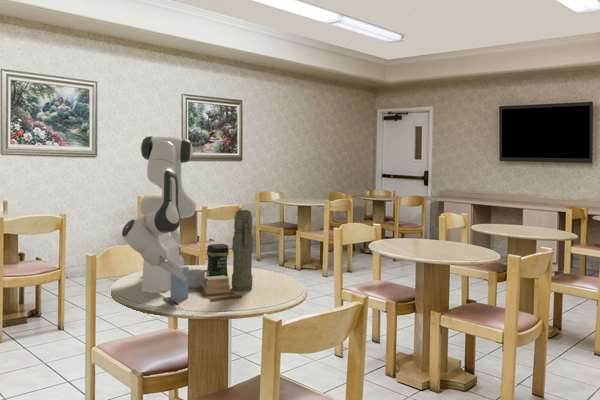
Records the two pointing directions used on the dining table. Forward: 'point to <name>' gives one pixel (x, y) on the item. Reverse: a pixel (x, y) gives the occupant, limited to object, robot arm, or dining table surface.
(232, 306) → the dining table surface
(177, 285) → the tall pale blue box
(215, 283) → the offcut top
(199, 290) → the tray
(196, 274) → the teacup
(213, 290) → the offcut low
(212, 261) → the coffee jar
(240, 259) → the thermos
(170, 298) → the mat
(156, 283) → the milk
